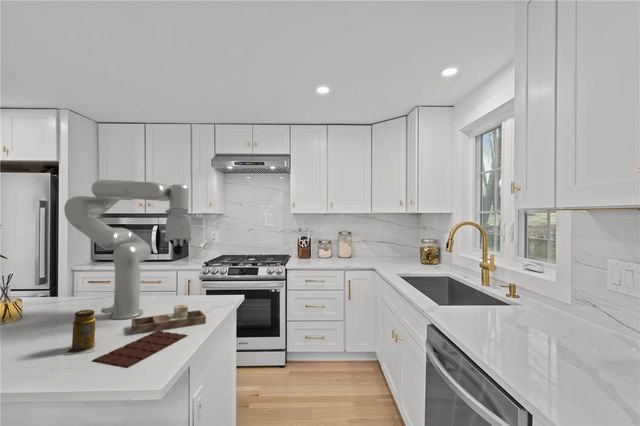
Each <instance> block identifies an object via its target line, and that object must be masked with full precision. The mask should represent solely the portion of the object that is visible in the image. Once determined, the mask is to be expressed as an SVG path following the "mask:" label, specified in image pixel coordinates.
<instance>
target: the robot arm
mask: <svg viewBox="0 0 640 426" xmlns="http://www.w3.org/2000/svg"><path fill="white" fill-rule="evenodd" d="M189 190H190V189H189V186H188V185H186V184H172V185H169V184H166V183H161V182H154V181H153V182H151V181H135V180H134V181H133V180H117V179H99V180H96V181H94V182H93V184H92V185H91V192H92V194H93V196H85V195H78V196H73V197H71V198H68V200H66V201H65V204H64V207H63V208H64V210H63V211H64V215H65V218H66V220H67V222H68V223H69V224H70V225H71V226H72V227H74V228H75V229H77V231H79V232H81V233H82V234H83V235H85V236H86V237H87V238H88V239H90V240H91V241H93V242H94V243H95V244H97V245H98V246H99V247H100V248H102V249H104V250H106V251H107V250H109V251H111V250H114V251H113V254H112V255H113V256H112V261H113V265H114V295H113V298H114V300H113V304H112V306H110V307H102V308H101V311H100V313H101V314H109V316H108V317H109V319H113V320H128V319H135V318H139V317H140V316H142V315H143V313H144V311H143V309H141V308H140V293H141V292H140V285H141V271H140V270H141V269H140V265H139V264H138V263H141V262H144V261H147V259H150V257H151V253H152V249H151V247H150V245H149V244H148V243H147V242H146V241H145V240H143V239H142V238H141V237H140V236H138V235H137V234H136V233H134V232H133V231H131V230H130V229H128V228H125V227H111V226H110V225H108V224H107V223H105V221H103V220H101V219H99V218H97V217H96V216H100V215H102V214H103V215H104V214H105V213H106V212H107V211H109V210H110V209H111V208H112V207H113V206H115V205H116V204H117V203H118V202H119V201H133V200H142V201H145V200H146V201H147V200H148V201H159V202H169V207H168V209H166V210H165V214H168V215H167V217H166V221H165V227H164V229H165V230H164V231H165V232H164V241H163V242H167V243H170V244H171V245H172V246H173V254H174V255H175V256H181V254H182V250H183V249H182V247H183V245H184V244H185V243H188V242H191V241H192V239H191V237H192V221H191V217H190V216H189V192H190V191H189ZM177 240H178V243H177Z"/></svg>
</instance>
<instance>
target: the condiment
mask: <svg viewBox="0 0 640 426" xmlns="http://www.w3.org/2000/svg"><path fill="white" fill-rule="evenodd" d="M95 335H96V318H95V310H94V309H83V310H78V311H76V312H75V314H74V320H73V322H72V338H71V339H72V341H71V346H70V347H69V348H68V349H67V352H66V353H65V355H79V354H86V353H92V352H93V353H94V351H95V349H96V347H97V344H98V341H96V340H95V338H96V337H95Z"/></svg>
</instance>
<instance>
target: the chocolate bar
mask: <svg viewBox="0 0 640 426" xmlns="http://www.w3.org/2000/svg"><path fill="white" fill-rule="evenodd" d="M187 337H188V335H187V334H186V333H185V334H184V333H177V332H170V331H165V332H164V330H160V331H154V332H150V333H149V334H147V335H145V336H143V337H141V338H138V339H136V340H134V341H131V342H130V343H127V344H125V345H123V346H122V347H118V348H116V349H113V350H112V351H110V352H108V353H105V354H103V355H101V356H98V357H95V358H94V359H93V360H91V363H97V364H101V365H106V366H107V365H108V366H112V367H120V368H124V369H129V368H130V367H133V366H134V365H136V364H138V363H140V362H141V361H143V360H146V359H147V358H149V357H151V356H153V355H155V354H157V353H159V352H161V351H163V350H165V349H167V347H168V348H169V346H172V345H173V344H174V345H175V343H177V342H179V341H180V340H183V339H185V338H187Z"/></svg>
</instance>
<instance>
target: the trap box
mask: <svg viewBox="0 0 640 426" xmlns="http://www.w3.org/2000/svg"><path fill="white" fill-rule="evenodd" d="M206 320H207V316H206V315H205V313H203V311H202V310H200V309H199V310H198V309H197V310H191V311H190V310H188V317H184V318H177V319H176V318H175V317H174V313H167V314H159V315H151V316H144V317H134V318H131V330H132V334H133V335H140V334H146V333H153V332H156V331H166V330H171V329H178V328H184V327H192V326H198V325H204V324H207V321H206Z"/></svg>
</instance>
